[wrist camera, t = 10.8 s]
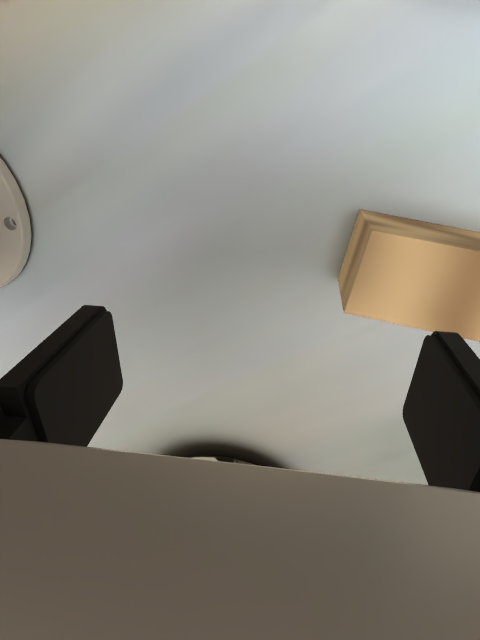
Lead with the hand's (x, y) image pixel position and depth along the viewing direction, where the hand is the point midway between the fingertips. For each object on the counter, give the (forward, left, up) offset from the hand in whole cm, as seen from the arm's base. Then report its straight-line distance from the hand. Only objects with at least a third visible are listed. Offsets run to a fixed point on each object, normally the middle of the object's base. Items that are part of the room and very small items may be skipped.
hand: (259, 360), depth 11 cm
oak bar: (+9, 0, -14) cm, 16 cm away
